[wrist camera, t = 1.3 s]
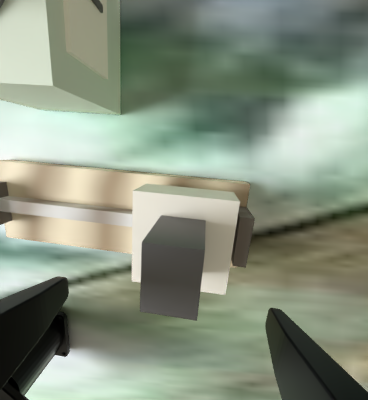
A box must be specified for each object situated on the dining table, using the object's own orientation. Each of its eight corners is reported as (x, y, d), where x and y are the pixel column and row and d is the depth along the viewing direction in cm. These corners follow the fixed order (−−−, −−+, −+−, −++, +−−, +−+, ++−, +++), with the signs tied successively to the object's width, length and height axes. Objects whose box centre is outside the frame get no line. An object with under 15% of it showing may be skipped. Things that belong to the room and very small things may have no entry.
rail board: (246, 181, 18) (259, 191, 13) (234, 259, 20) (241, 289, 15) (9, 159, 20) (-46, 161, 16) (19, 231, 22) (-27, 251, 18)
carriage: (231, 189, 16) (255, 224, 8) (221, 262, 18) (232, 350, 10) (150, 181, 17) (100, 207, 9) (148, 253, 19) (104, 327, 11)
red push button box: (125, 115, 17) (51, 82, 9) (39, 109, 18) (-100, 74, 10) (125, -23, 15) (24, -241, 7) (26, -23, 16) (-175, -217, 7)
